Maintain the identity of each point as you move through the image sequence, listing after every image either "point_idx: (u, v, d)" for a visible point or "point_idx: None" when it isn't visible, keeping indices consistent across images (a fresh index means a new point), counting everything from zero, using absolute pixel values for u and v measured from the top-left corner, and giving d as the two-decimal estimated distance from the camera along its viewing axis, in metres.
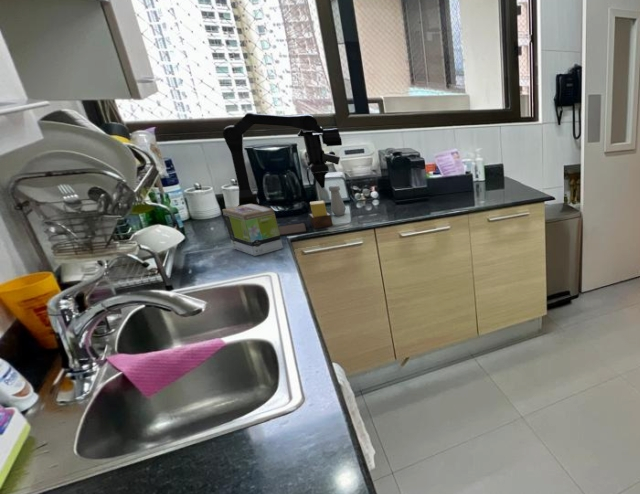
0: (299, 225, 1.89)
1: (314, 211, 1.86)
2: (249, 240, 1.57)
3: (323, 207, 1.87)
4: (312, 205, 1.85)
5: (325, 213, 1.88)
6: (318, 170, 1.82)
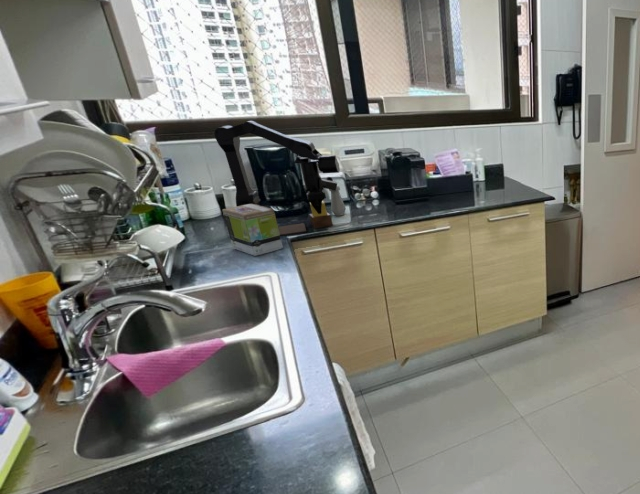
0: (299, 225, 1.89)
1: (314, 211, 1.86)
2: (249, 240, 1.57)
3: (323, 207, 1.87)
4: None
5: (325, 213, 1.88)
6: (315, 198, 1.79)
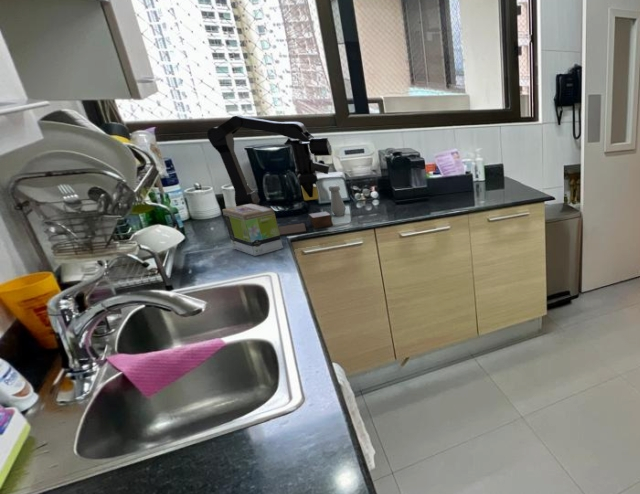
0: (299, 225, 1.89)
1: (305, 194, 1.82)
2: (249, 240, 1.57)
3: (315, 190, 1.84)
4: (303, 188, 1.81)
5: (317, 197, 1.85)
6: (306, 180, 1.75)
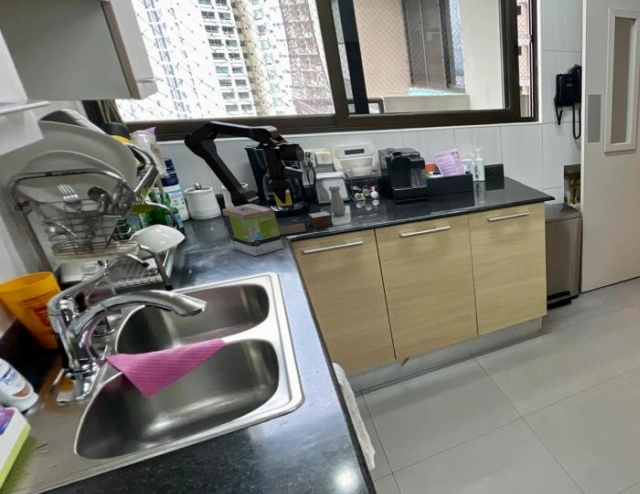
0: (299, 225, 1.89)
1: (278, 200, 1.78)
2: (249, 240, 1.57)
3: (288, 196, 1.79)
4: None
5: (290, 203, 1.80)
6: (278, 186, 1.70)
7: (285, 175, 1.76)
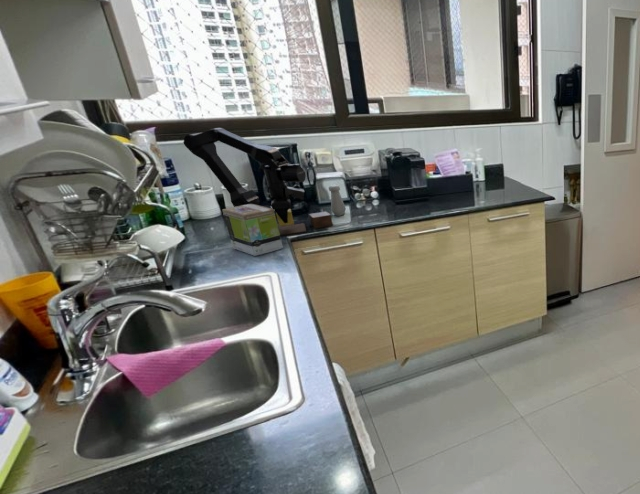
0: (299, 225, 1.89)
1: (280, 220, 1.80)
2: (249, 240, 1.57)
3: (289, 216, 1.81)
4: None
5: (292, 222, 1.82)
6: (279, 207, 1.73)
7: (287, 195, 1.78)
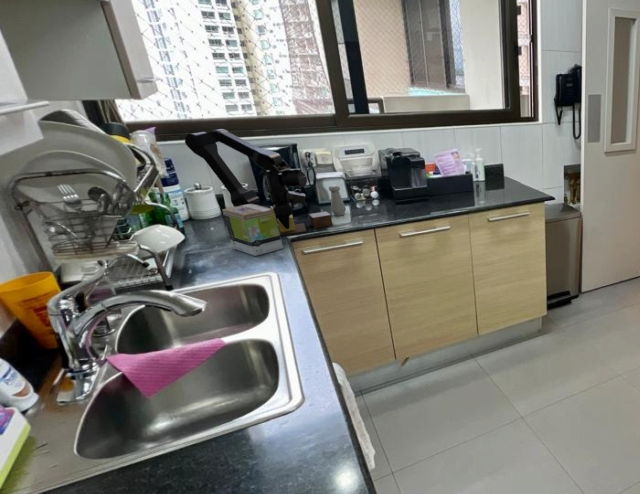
0: (299, 225, 1.89)
1: (281, 226, 1.81)
2: (249, 240, 1.57)
3: (291, 222, 1.82)
4: None
5: (293, 228, 1.83)
6: (281, 212, 1.73)
7: (288, 200, 1.79)
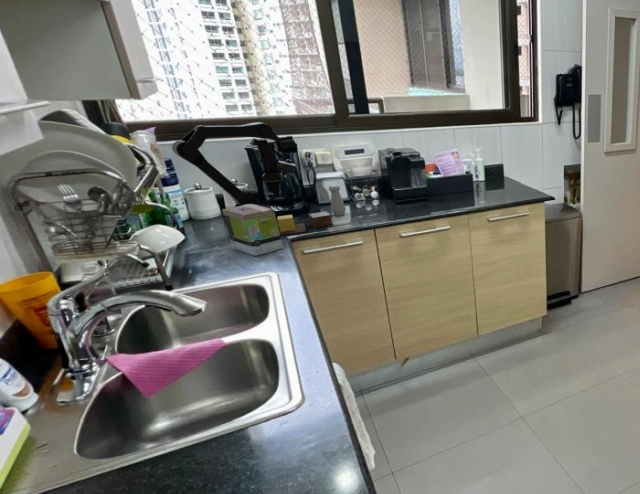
0: (299, 225, 1.89)
1: (281, 226, 1.81)
2: (249, 240, 1.57)
3: (291, 222, 1.82)
4: (279, 220, 1.80)
5: (293, 228, 1.83)
6: (270, 179, 1.78)
7: (278, 169, 1.84)
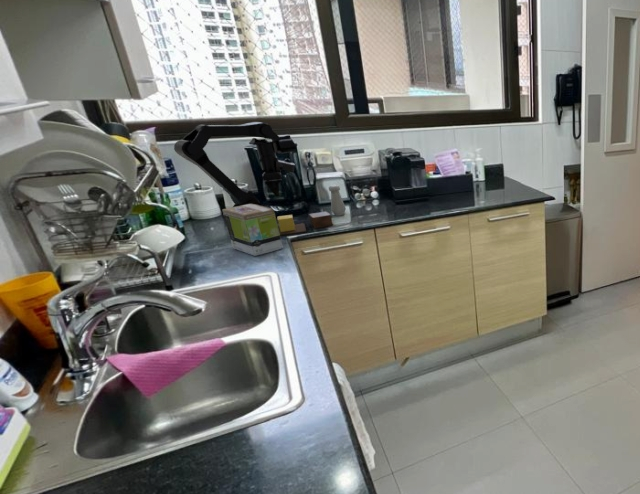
0: (299, 225, 1.89)
1: (281, 226, 1.81)
2: (249, 240, 1.57)
3: (291, 222, 1.82)
4: (279, 220, 1.80)
5: (293, 228, 1.83)
6: (270, 178, 1.80)
7: (278, 168, 1.85)
